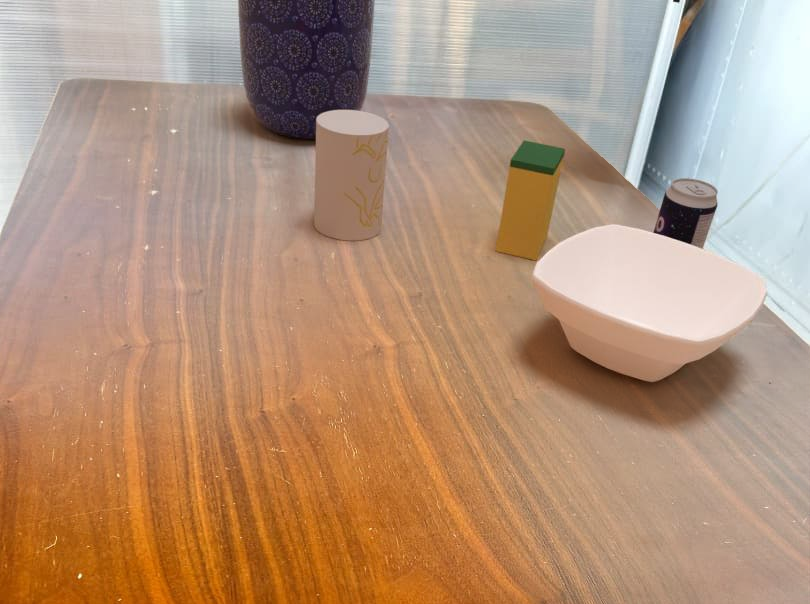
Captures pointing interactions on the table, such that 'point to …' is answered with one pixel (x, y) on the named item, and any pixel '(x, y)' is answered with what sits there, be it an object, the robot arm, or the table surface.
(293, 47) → the planter
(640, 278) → the bowl
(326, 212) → the beige patterned cylinder
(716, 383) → the table surface
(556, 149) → the sponge
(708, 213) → the beverage can
